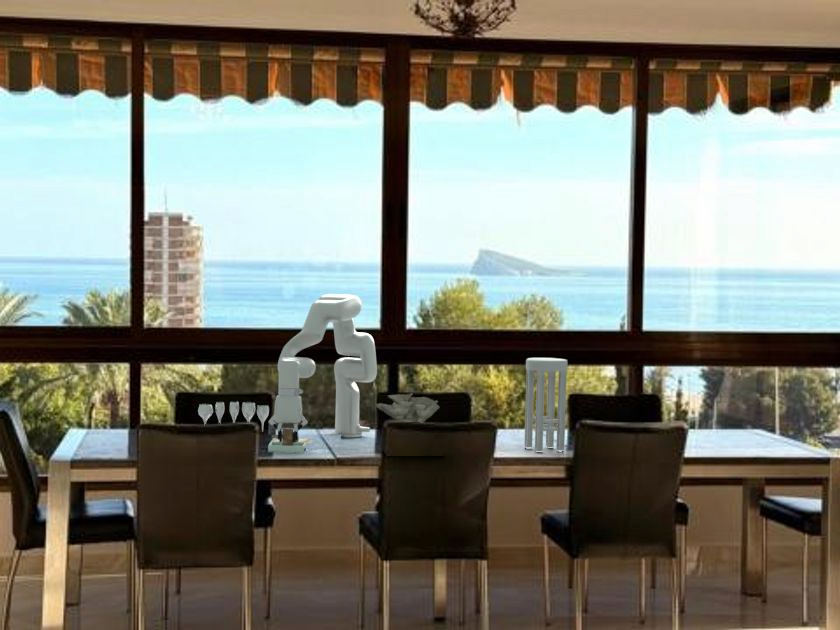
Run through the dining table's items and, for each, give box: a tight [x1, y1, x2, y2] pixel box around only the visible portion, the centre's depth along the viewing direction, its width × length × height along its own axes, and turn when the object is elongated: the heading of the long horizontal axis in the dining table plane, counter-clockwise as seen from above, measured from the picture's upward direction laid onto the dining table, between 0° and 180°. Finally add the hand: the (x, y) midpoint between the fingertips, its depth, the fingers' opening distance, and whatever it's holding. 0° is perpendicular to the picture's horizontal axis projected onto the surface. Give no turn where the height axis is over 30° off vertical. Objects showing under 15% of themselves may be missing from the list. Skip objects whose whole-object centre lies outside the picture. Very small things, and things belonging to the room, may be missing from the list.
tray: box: [267, 440, 307, 454], centre depth 457 cm, size 13×10×2 cm
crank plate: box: [268, 438, 313, 446], centre depth 471 cm, size 15×15×2 cm
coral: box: [375, 392, 441, 424], centre depth 460 cm, size 25×20×21 cm
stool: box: [524, 357, 568, 452], centre depth 473 cm, size 16×16×35 cm
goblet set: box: [197, 401, 270, 433], centre depth 494 cm, size 28×6×13 cm, turn 93°
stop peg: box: [282, 427, 294, 446], centre depth 457 cm, size 4×4×7 cm
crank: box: [268, 423, 300, 442], centre depth 469 cm, size 11×4×6 cm, turn 90°
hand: (287, 441), depth 457 cm, fingers open, 4 cm apart
